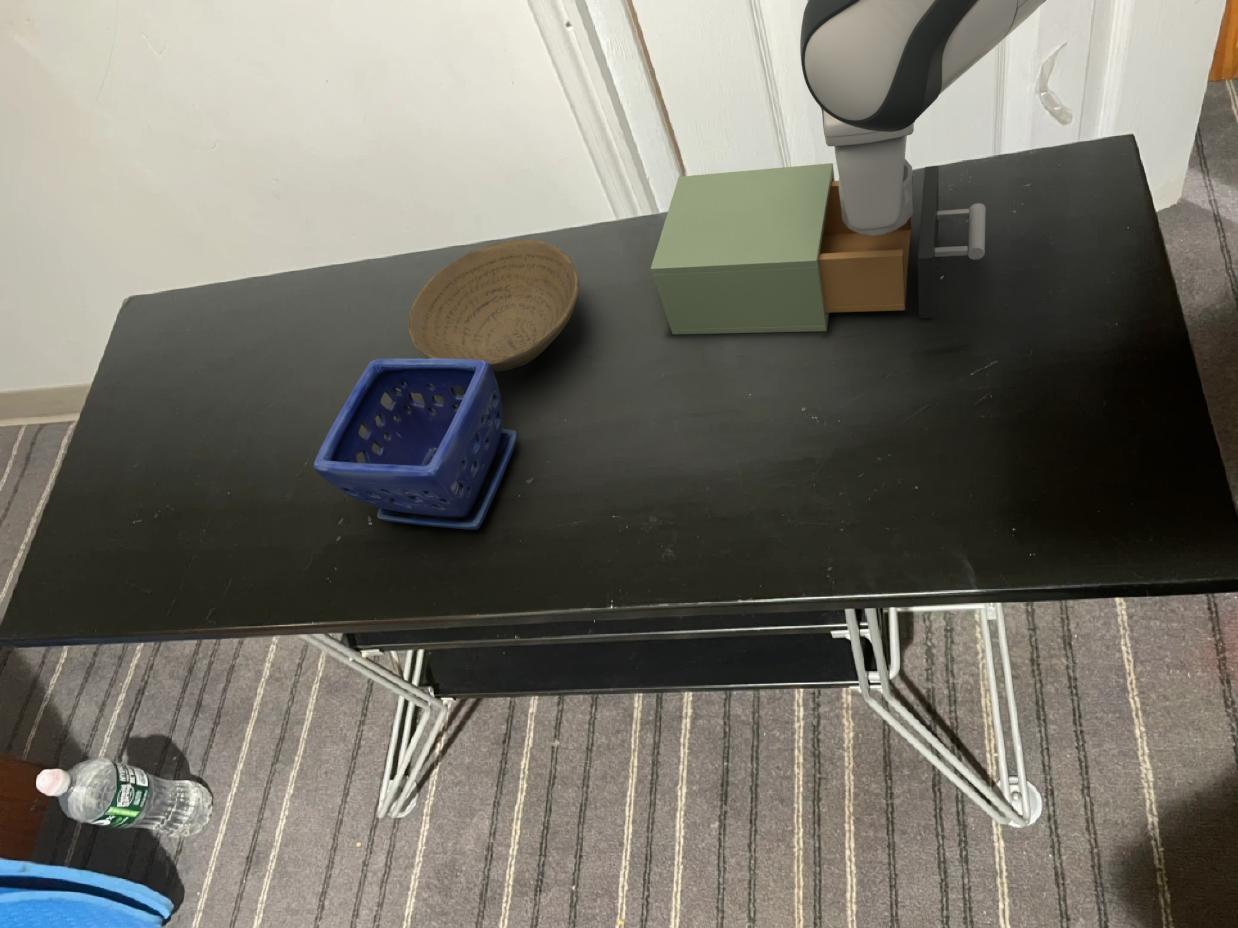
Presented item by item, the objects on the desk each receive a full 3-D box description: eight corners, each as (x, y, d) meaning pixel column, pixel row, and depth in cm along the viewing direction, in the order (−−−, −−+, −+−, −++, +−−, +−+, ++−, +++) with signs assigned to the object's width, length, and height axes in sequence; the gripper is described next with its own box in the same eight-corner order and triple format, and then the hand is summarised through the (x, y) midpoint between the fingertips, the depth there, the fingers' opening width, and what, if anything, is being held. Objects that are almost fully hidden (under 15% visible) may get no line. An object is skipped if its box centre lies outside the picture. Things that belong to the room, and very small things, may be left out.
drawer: (984, 224, 87) (987, 161, 81) (982, 316, 80) (985, 254, 75) (792, 235, 94) (783, 178, 88) (776, 321, 87) (764, 265, 81)
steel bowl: (925, 200, 81) (925, 159, 78) (892, 246, 79) (890, 205, 75) (863, 188, 84) (860, 147, 81) (830, 231, 82) (825, 191, 79)
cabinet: (840, 235, 93) (832, 162, 86) (826, 331, 86) (816, 260, 79) (697, 244, 99) (678, 176, 92) (672, 334, 91) (650, 268, 84)
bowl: (603, 275, 100) (581, 219, 94) (595, 400, 89) (569, 346, 83) (452, 306, 104) (421, 254, 98) (427, 428, 93) (391, 378, 87)
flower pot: (423, 430, 93) (367, 353, 84) (536, 435, 88) (489, 354, 79) (372, 538, 86) (305, 468, 77) (491, 551, 81) (434, 477, 72)
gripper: (829, -3, 76) (843, 135, 87) (823, 143, 65) (839, 282, 76) (906, -19, 74) (910, 125, 85) (914, 130, 63) (917, 274, 74)
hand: (877, 200), depth 80 cm, fingers closed on steel bowl, 6 cm apart
